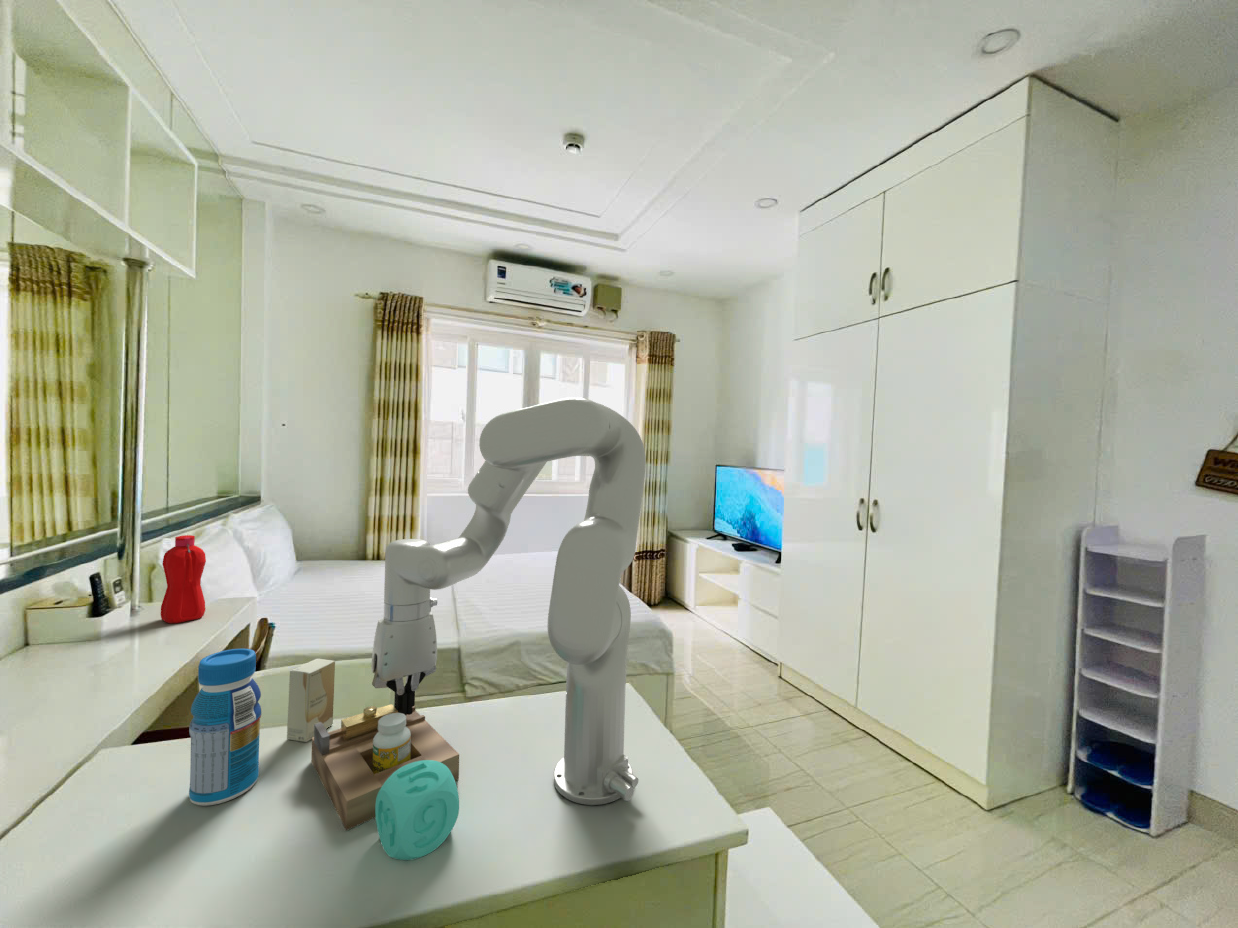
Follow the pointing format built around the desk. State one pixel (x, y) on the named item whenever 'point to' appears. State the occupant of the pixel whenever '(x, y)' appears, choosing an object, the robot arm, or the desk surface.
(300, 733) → the skincare box
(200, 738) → the beverage bottle
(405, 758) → the supplement bottle
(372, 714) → the latch bar
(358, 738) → the socket block
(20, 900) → the desk surface
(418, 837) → the decorative dice
